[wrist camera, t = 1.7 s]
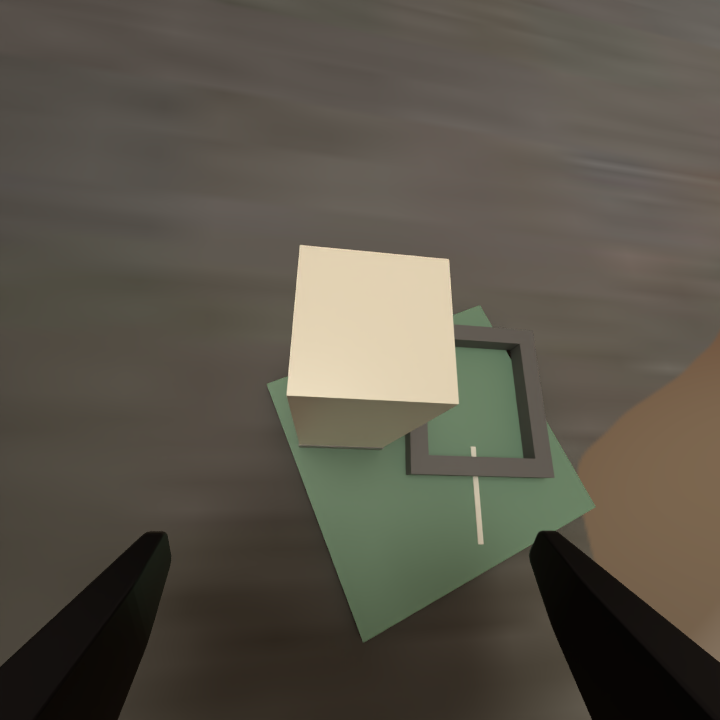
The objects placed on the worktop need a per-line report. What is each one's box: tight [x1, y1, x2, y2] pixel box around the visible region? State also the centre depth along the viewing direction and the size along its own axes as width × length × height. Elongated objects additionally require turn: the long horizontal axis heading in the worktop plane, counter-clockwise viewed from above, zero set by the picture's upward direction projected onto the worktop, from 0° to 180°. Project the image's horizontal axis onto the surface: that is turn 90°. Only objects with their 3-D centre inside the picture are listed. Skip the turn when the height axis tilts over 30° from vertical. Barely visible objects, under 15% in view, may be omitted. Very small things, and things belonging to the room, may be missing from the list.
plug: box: [286, 245, 459, 450], centre depth 16 cm, size 5×5×12 cm
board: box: [267, 305, 595, 643], centre depth 21 cm, size 14×17×2 cm
